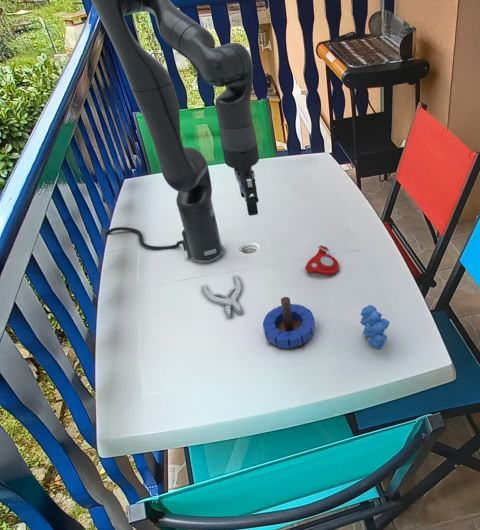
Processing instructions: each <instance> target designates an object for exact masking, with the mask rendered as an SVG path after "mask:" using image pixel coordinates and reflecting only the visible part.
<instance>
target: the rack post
mask: <svg viewBox="0 0 480 530" xmlns="http://www.w3.org/2000/svg"><path fill="white" fill-rule="evenodd" d="M291 304H292V303H291V299H290V297H288V296H283V297H282V298H280V306H282V314H283V321H282V322H281V323H279V324H278V325H277V329H279V330H281V331H286V332H290V331H293V330H296V329H298V328H299V327H300V326H301V325H302V323H301V322H299V321H298V320H294V319H292V311H291ZM270 344H272V343H270ZM272 345H273V344H272ZM303 345H304V344H303V343H302V345H299V346H297V347H303Z"/></svg>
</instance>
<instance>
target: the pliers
mask: <svg viewBox="0 0 480 530" xmlns="http://www.w3.org/2000/svg"><path fill="white" fill-rule="evenodd" d="M234 280H235V286H234V287H233V288H231V289H230V291H229V292H228V297H231V298H227V299H226V297H225V295H224V294H221V293H212V292H210V290H208V288H207V287H206V285H205V284H204V285H202V289H203V293H204V295H205V296H206V297H207V299H209V300H210V301H211V302H213V303H215V304H219V305H222V306H224V307H225V311H226V314H227V316H228V318H229V319H231V318H232V310H234V311H235V312H236V313H237V314H238V315H241V314H242V313H243V312H242V309H241V306H240V305H239V303H238V302H237V299H238V298H239V296H240V295H241V291H242V284H241V280H240V278H239V277H238V276H237V275H234Z"/></svg>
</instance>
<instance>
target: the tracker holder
mask: <svg viewBox="0 0 480 530" xmlns="http://www.w3.org/2000/svg"><path fill="white" fill-rule="evenodd" d="M317 248H318V251H317V252H316V254H315V255H314V256H312V257H311V258H310V259H309V260H308V261H307V262H306V265H305V266H304V268H305V271H306V273H307V274H310V273H312V274H319V275H322V276H334V275H336V274H337V273H338V272H339V268H340V264H339V261H338V260H337V259H336V258H335V257H334V256H333V255H331V254H329V253H327V252H329V251H330V250H329V249H328V248H329V247H327V246H326V245H322V244H321V245H318V246H317Z"/></svg>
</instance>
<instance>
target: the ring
mask: <svg viewBox="0 0 480 530" xmlns="http://www.w3.org/2000/svg"><path fill="white" fill-rule="evenodd" d="M291 311H292V319H293V320H298V321H299V322H301V323H302V325H301V326H300V327H299V328H298V329H296V330H293V331H290V332H286V331H281V330H279V329H277V325H278V324H279V323H281V322H282V321H283V314H282V306H281V305H278V306H276V307H274V308H272V309H271V310H270V311H269V312H267V313H266V315H265V316H264V319H263V321H262V328H263V334H264V337H265V339H266V341H267V342H268V343H269V344H271V343H272V345H273V346H275V347H277V348H284V349H290V348H291V349H292V348H296V347H298V346H299V345H302V346H303V345H304V344H305V343H307V342H308V341H309V340H310V339H312V337H313V335H314V333H315V329H316V322H315V321H316V320H315V317H314V314H313V312H312V311H311V310H310V309H309V308H307V307H305V306H304V305H301V304H296V303H291ZM302 343H303V344H302Z"/></svg>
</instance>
